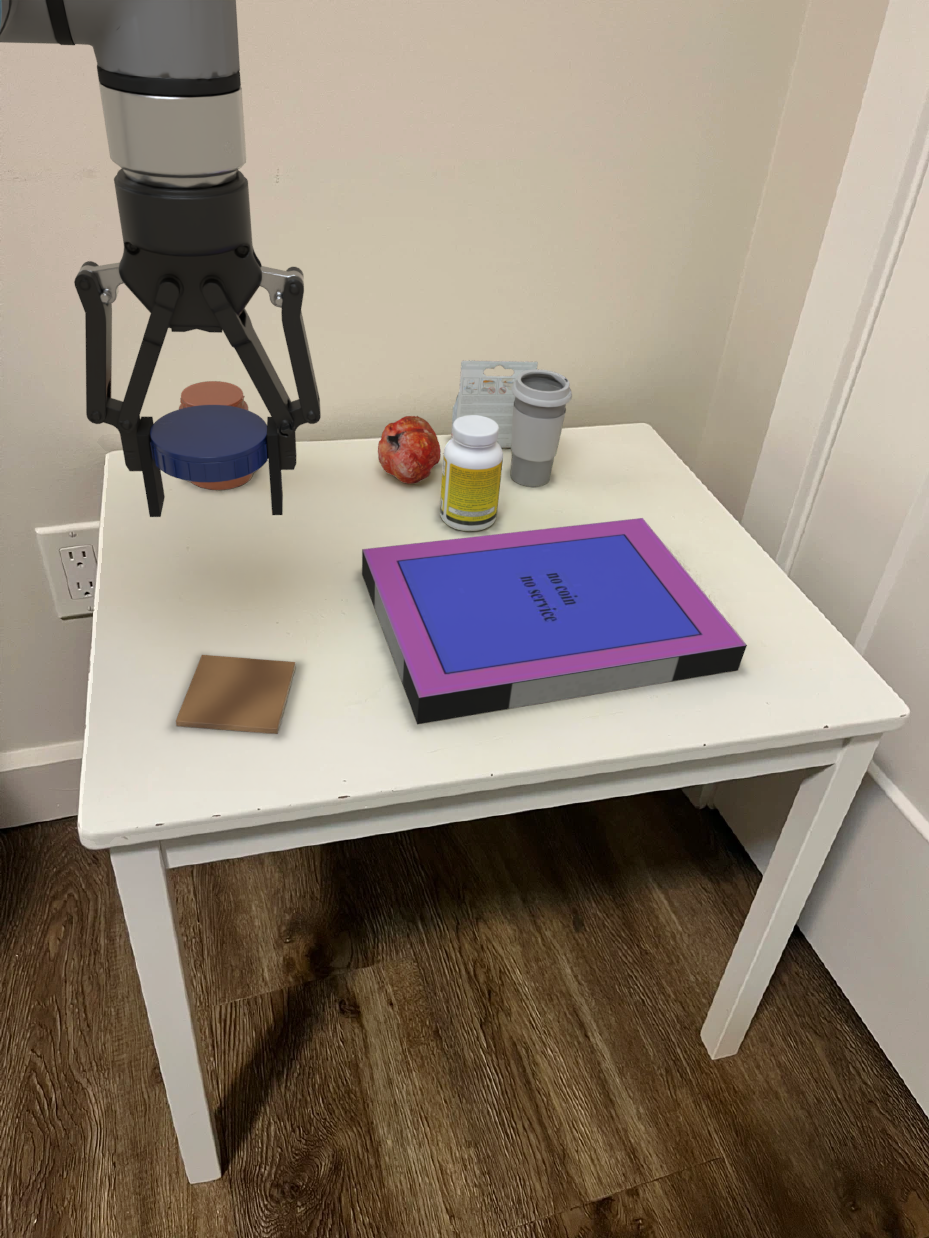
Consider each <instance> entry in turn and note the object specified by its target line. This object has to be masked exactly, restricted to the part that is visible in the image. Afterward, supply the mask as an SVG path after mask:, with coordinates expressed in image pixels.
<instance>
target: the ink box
mask: <svg viewBox="0 0 929 1238" xmlns="http://www.w3.org/2000/svg"><path fill="white" fill-rule="evenodd" d="M538 365H539V362H538V361H537V360H536V361H529V360H525V361H522V360H519V361H517V360H475V359H471V360H470V359H468V360H464V359H463V360H461V362H460V375H459V376H460V377H459V390H458V394H456V397H455V401H454V404H453V406H452V414H451V415H452V416H451V430H450V431H451V432H450V433H451V435H450V437H451V439H452V438H453V437H452V429H453V423H454V421H455V420H456V419H457V418H459V417H462V416H467V415H478V416H484V417H487V418H490V419H492V420H493V421H495V422H496V423H497V424H498V427H499V432H498V439H497V443H498V444H499V445H500V447H501V448H502V449H509V448H510V449H511V439H512V422H513V404H514V401H515V396H514V394H513V393H512V391H511V388H512V385H513V383H514V382H515V381H516V380H517V376H518V375H519V374H520V373H521V372H523V371H526V370H533V369H538ZM498 366H499V367H500V366H501V367H502V368H503V369H504V370H512V371H513V374H511V375H486V373H485V371H486V370H488V369H489V370H495V369H496V368H497V367H498Z"/></svg>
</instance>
